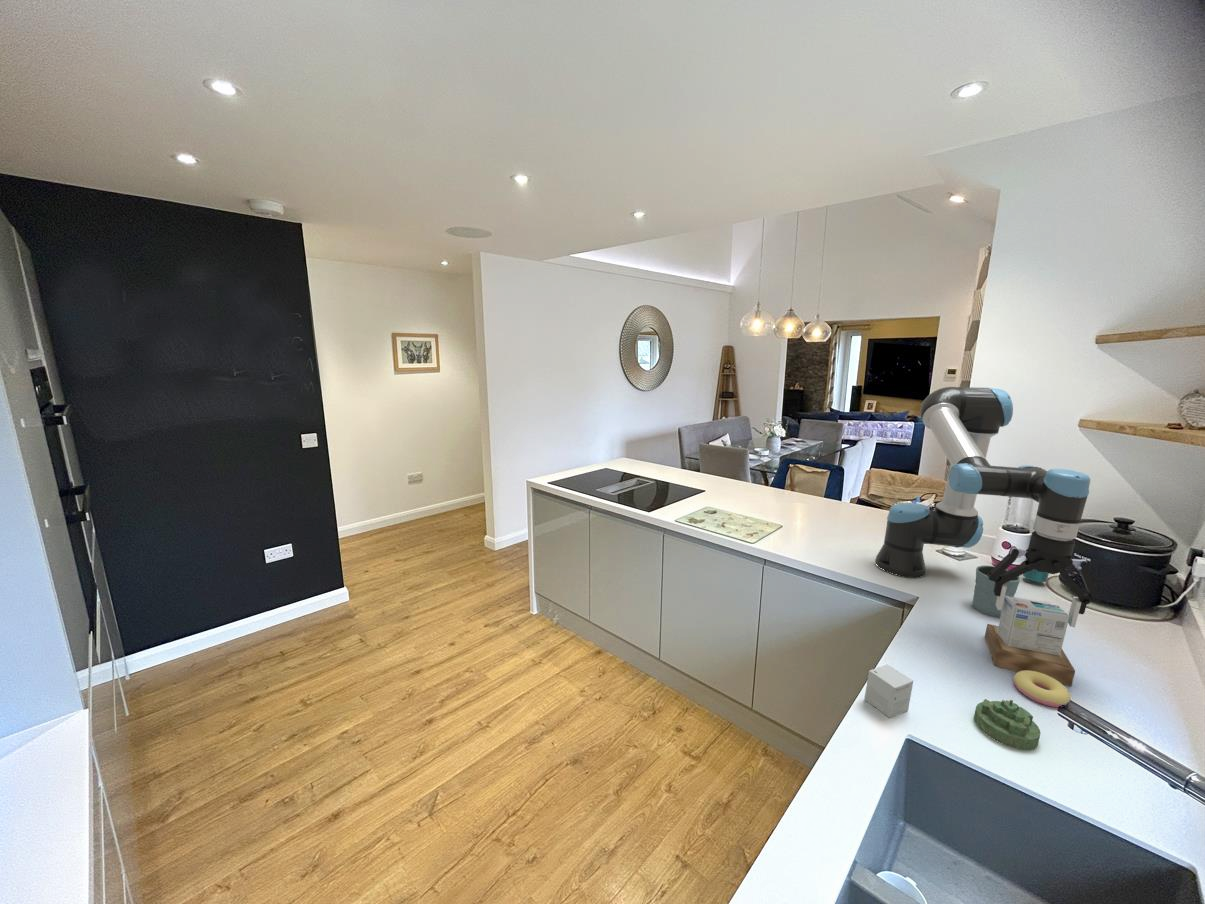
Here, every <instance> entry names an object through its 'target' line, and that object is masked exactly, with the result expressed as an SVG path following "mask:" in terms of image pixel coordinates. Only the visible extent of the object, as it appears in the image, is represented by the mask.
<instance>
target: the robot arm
mask: <svg viewBox="0 0 1205 904" xmlns="http://www.w3.org/2000/svg"><path fill="white" fill-rule="evenodd" d="M1013 405H1014V404H1013V400H1012V398H1011V396H1010V394H1009V393H1008V392H1007V391H1006V390H1004V389H1000V388H993V387H966V386H965V387H963V386H962V387H961V386H960V387H958V386H945V387H941V388H939V389H937V390H935V391H933V392H931V393H929V394H928V395H927V396H926V397H925V399H924V400H923V401H922V403H921V405H920V409H919V416H920V420H921V421H922V424H923V425H924V426H925V427H926V429H929V430H931V431H932V434H933V436H934V437H935V439H936V440H937V443H938V444H939V446H940V448H941V449H942V452H943V453H944V455H945V456H946V458H947V460H948V462H949V464H950V465H949V470H948V474H947V478H946V483H945V487H944V488H945V489H944V493H943V497H942V500H941V501H938V502H936V504H935V508H934V510H933V509H932V510H931V509H930V507H929V506H927V505H926V504H922V503H916V502H900V503H896V504H894V505H891V506H890V508H889V511H888V515H887V518H886V520H887V522H886V527H885V534H884V539H883V541H884V542H883V544H882V546H881V548H880V550H879V552H878V553H877V555H876V557H875V561H874V563H875V562H876V564H877V565H878V566H879V567H880V568H882V569H884V570H885V571H884V572H886V571H888V572H891V573H893V574H892V575H894V574H897V575H896V576H898V575H900V576H899V577H902V576H904V577H903V578H909V577H913V579H916V578H915V577H918V578H922V577H924V576H925V574H926V570H927V569H926V568H927V567H926V562H925V557H924V554H923V552H924V544H927V545H934V546H935V545H936V546H944V547H951V548H964V549H965V548H968V549H969V548H972V547H974V546H975V545H977V544H978V543H979V542H980V540H981V538H982V536H983V532H984V521H983V519H982V517H981V516H980V515H979V511H978V510H977V509H976V508H975V503H976V498H977V495H984V496H985V495H986V496H999V497H1000V496H1001V497H1007V498H1008V497H1010V498H1023V499H1030V500H1033V501H1034V502H1037V503H1038V506H1037V511H1036V515H1035V519H1034V523H1033V528H1032V529H1033V531H1032V532H1031V536H1030V537H1031V539H1030V538H1029V543H1028V547H1027V549H1026V550H1024V549H1020V548H1017V547H1016V546H1015V545H1012V546H1011V547H1010V548H1009V550H1008V553H1007V554H1006V555H1005V556H1004V557H1003V558H1002V559H1001V560H1000V561H999V562H998V563H997V564H996V565H994V566H995V567H994V568H993V569H992V570H991V571H990V572H989V573H988V574H987V575H988V578H989V580H991V581H994V582H995V586H994V590H993V591H994V594H995V595H996V596H997V601H996V607H997V609H998V610H1002V606H1003V601H1004V597H1005V593H1006V588H1007V586H1006V584H1005V583H1007V582H1009V581H1011V580H1012V579H1014V578H1016V577H1018V576H1019V577H1020V576H1021V575H1022V576H1023V574H1024V573H1026V572H1029V571H1031V570H1033V569H1035V570H1037V571H1039V572H1047V573H1049V574H1051V575H1055V574H1060V575H1061V577H1062V578H1063V579H1064V581H1065V582H1066V583H1067V584H1068V585H1069V586H1070V588H1071V589H1072V591H1073V592H1074V593H1075V594H1076V596H1073V597H1072V601H1071V603H1070V604H1071V605H1070V608H1069V611H1068V615H1069V620H1068V625H1069V627H1072V628H1075V627H1076V624H1077V621H1078V617H1079V615H1084V614H1085V612H1086V610H1087V605H1090V603H1093V602H1094V603H1100V601H1101V599H1100V597H1099V594H1098V592H1097V588H1096V586H1095V584H1094V582H1093V579H1092V578H1091V577H1092V576H1091V574H1090V572H1089V569H1090V563H1089V562H1088V561H1087V560H1086V559H1085V558H1083V557H1081V558H1079V559H1077V558H1072V555H1073V552H1074V547H1075V544H1076V541H1075V539H1076V538H1077V536H1078V533H1079V527H1080V523H1081V520H1082V518H1083V514H1084V510H1085V506H1086V503H1087V499H1088V497H1089V494H1090V486H1091V485H1090V484H1091V478H1090V476H1089V475H1088V474H1086V473H1084V472H1081V471H1075V470H1072V469H1066V468H1065V469H1064V468H1052V469H1051V468H1050V469H1049V470H1046V469H1044V468H1042V467H1039V466H1034V465H1030V464H1029V465H1028V464H1027V465H1025V464H1024V465H1021V466H1018V467H1016V466H1015V467H1012V466H999V465H998V466H997V465H991V464H990V462H988V460H987V454H988V451H989V447H990V443H991V438H992V437H995V436H996V435H998V434H999V431H1000V428H1001V427H1003V428H1004V427H1007V426H1008V425H1009V424H1010V422H1011V421H1012V418H1013V414H1014V406H1013ZM1023 556H1024V557H1025V559H1024V560H1023V561H1022V562H1021V563H1020V564H1018V565H1016V566H1014V567H1012V568H1010V569H1009V571H1007V572H1005V573H1003V572H1004V571H1005V570H1008V568H1009V567H1010V566H1011V565H1012V564H1013V563H1015V562H1016V560H1017V559H1019V558H1021V557H1023ZM1026 558H1027V560H1026ZM876 564H875V565H876ZM1072 565H1073V566H1074V567H1075V568H1076V569H1077V570H1078V573H1079V574H1080V576H1081V580H1082V582H1083V584H1084V586H1085V589H1086V591H1087V593H1086V594H1085V593H1084V592H1083V591H1082V589H1081V588H1080V587H1079V586H1078V585H1077V584H1076V582H1075V581H1074V579H1073V578H1072V577H1071V575H1070V574H1069V573H1068V572H1067V571H1066V569H1068V568H1069V567H1071V566H1072ZM879 567H878V568H879ZM880 568H879V569H880ZM882 569H881V570H882ZM888 572H887V573H888ZM891 573H890V574H891ZM1002 573H1003V574H1002Z"/></svg>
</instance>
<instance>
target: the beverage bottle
mask: <svg viewBox="0 0 1205 904" xmlns="http://www.w3.org/2000/svg"><path fill="white" fill-rule="evenodd" d="M1030 539H1031V536H1030V538H1029V540H1030ZM1025 560H1027V558H1026V557H1025ZM1049 574H1050V573H1047V572H1039V571H1037V570H1035V569H1033V570H1031V571H1029V572H1026V573H1024V574H1022V576H1023V577H1024V578H1025V579H1027V580H1029V581H1033V582H1037V583H1045V582H1047V581H1048V580H1049Z"/></svg>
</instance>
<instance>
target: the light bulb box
mask: <svg viewBox="0 0 1205 904" xmlns="http://www.w3.org/2000/svg"><path fill="white" fill-rule="evenodd" d="M1068 620H1069V613H1067V612H1066V611H1065V610H1063V608H1061V607H1060V606H1059V605H1058V604H1057V603H1055V602H1049V601H1043V600H1042V601H1041V600H1036V599H1027V598H1022V597H1021V598H1020V597H1015V596H1014V597H1009V596H1005V597H1004V602H1003V607H1002V612H1001V617H999V622H998V623H999V624H998V626H999V627H998V632H997V633H998V635H999V636H1000V637H1001V639H1002V640H1003V641H1004V643H1005V644H1006V645H1007V646H1010V647H1016V648H1021V649H1026V650H1032V651H1037V652H1042V653H1048V654H1053V655H1058V656H1060V653H1061V649H1062V650H1063V644H1064V640H1065V636H1066V631H1067V627H1068V625H1069V623H1068Z"/></svg>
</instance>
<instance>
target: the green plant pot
mask: <svg viewBox="0 0 1205 904" xmlns="http://www.w3.org/2000/svg"><path fill="white" fill-rule="evenodd" d="M995 566H996V565H986V564H985V565H979V566H976V567H975V568H976V569H975V579H974V580H975V585H974V589H973V598H972V606H973V608H974V609H976V610H977V611H979V612H981V613H983V614H986V615H989V616H993V617H999V618H1000V617H1001V612H1002V610H998V609H997V607H996V601H997V596H996V595H995V594H994V591H993V590H994V586H995V582H994V581H991V580H989V578H988V575H987V574H988V573H989V572H990V571H991V570H992V569H993V568H994V567H995ZM1009 570H1010V569H1009ZM1009 570H1008V569H1006V570H1005V571H1004V572H1003V573H1005V572H1007V571H1009ZM1003 573H1002V574H1003ZM1020 582H1021V577H1020V576H1018V577H1016V578H1014V579H1012V580H1011V581H1009V582H1007V583H1005V584H1006V586H1007V588H1006V593H1005V596H1009V597H1015V595H1016V593H1017V590H1018V587H1019V585H1020ZM1003 602H1004V601H1003ZM1002 607H1003V606H1002Z"/></svg>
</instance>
